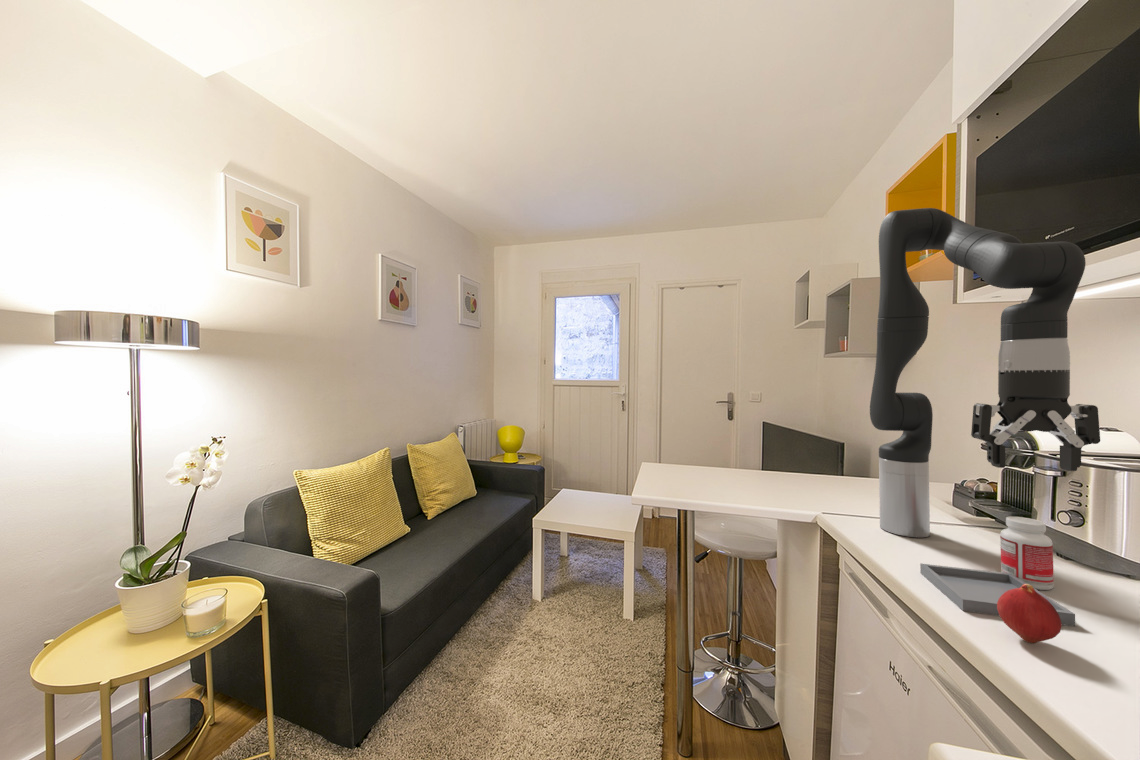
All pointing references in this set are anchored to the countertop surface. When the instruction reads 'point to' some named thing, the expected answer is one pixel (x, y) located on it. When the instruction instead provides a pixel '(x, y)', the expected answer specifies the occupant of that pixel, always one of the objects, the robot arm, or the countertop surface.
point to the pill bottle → (1027, 552)
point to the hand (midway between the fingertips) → (1032, 468)
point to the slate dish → (980, 589)
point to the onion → (1029, 614)
